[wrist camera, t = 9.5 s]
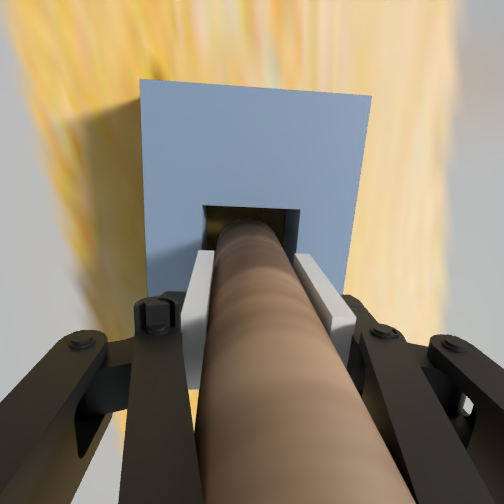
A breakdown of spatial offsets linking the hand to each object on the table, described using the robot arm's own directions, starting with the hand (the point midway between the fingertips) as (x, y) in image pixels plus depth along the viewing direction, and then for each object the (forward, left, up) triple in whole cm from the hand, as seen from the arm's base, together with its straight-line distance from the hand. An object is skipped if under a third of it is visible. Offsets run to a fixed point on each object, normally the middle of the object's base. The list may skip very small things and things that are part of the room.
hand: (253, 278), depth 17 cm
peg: (0, 0, -5) cm, 5 cm away
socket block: (0, 0, -8) cm, 8 cm away
